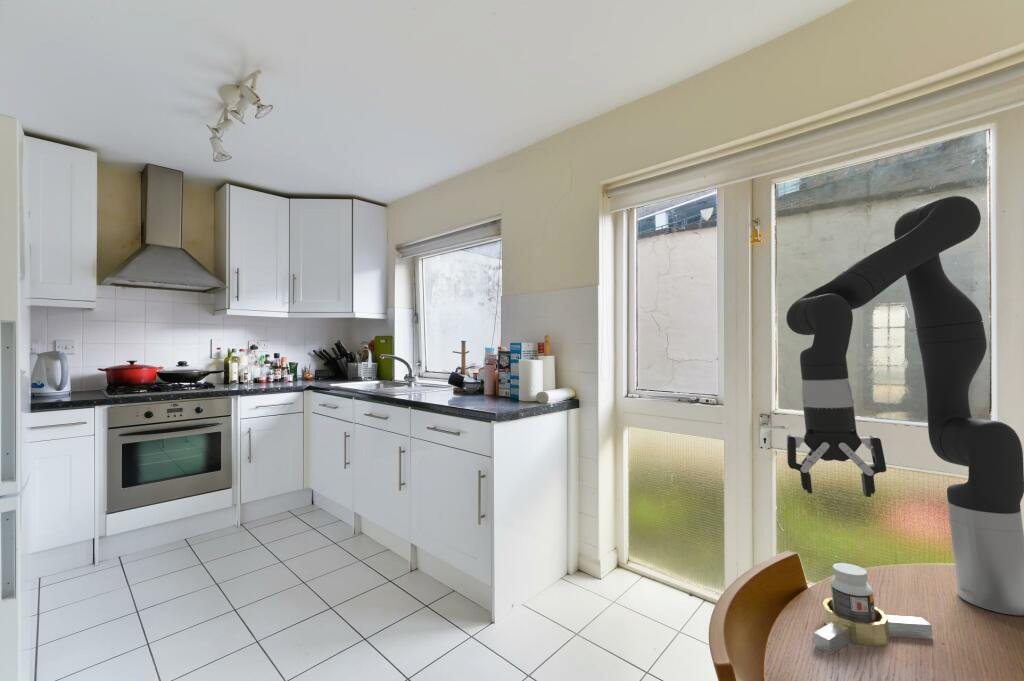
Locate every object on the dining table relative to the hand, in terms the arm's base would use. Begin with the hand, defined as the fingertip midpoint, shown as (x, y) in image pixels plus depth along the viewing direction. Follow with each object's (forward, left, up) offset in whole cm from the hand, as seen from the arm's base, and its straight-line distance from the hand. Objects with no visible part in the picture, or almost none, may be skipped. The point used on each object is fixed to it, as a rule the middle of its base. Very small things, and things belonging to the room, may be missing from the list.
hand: (837, 494), depth 78 cm
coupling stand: (+3, +4, -21) cm, 22 cm away
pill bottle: (+3, +4, -21) cm, 22 cm away
